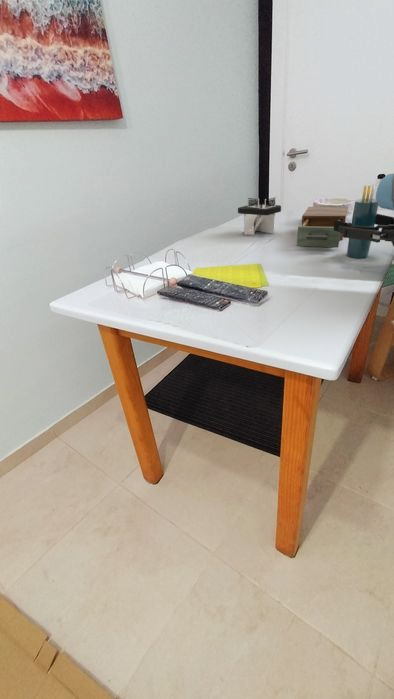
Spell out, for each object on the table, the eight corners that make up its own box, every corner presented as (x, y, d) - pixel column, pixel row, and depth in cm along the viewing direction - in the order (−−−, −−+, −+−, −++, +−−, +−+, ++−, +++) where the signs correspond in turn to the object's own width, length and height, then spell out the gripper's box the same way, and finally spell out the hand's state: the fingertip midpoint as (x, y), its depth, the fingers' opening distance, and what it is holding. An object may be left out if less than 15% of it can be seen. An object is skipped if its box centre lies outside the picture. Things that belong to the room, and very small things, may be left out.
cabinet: (342, 240, 114) (345, 215, 110) (300, 238, 119) (302, 215, 115) (344, 228, 126) (348, 206, 122) (306, 228, 131) (308, 206, 127)
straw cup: (368, 252, 101) (382, 182, 91) (368, 258, 96) (383, 185, 86) (346, 251, 103) (358, 182, 93) (345, 257, 99) (357, 185, 88)
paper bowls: (351, 225, 129) (354, 203, 125) (309, 225, 134) (311, 204, 130) (351, 217, 141) (354, 196, 136) (312, 217, 146) (315, 197, 141)
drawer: (337, 251, 101) (340, 231, 98) (294, 249, 106) (295, 230, 103) (341, 235, 115) (343, 217, 112) (303, 234, 120) (304, 217, 117)
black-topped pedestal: (209, 237, 132) (207, 200, 125) (254, 224, 145) (255, 190, 138) (264, 249, 113) (266, 206, 106) (310, 232, 126) (314, 194, 119)
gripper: (370, 261, 79) (316, 241, 97) (452, 245, 85) (387, 228, 102) (376, 229, 75) (319, 214, 93) (462, 214, 81) (393, 202, 98)
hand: (355, 221), depth 97 cm, fingers open, 13 cm apart
